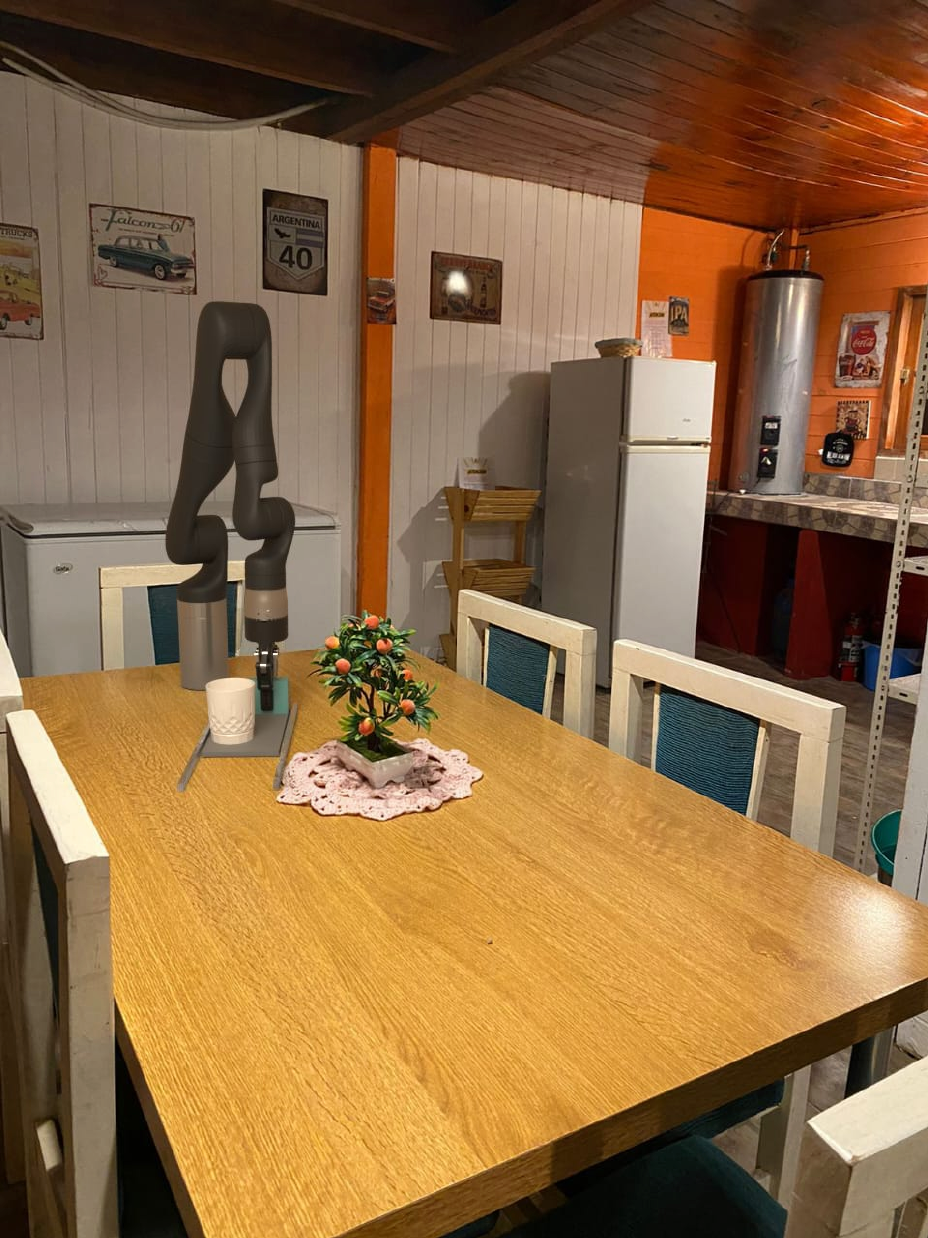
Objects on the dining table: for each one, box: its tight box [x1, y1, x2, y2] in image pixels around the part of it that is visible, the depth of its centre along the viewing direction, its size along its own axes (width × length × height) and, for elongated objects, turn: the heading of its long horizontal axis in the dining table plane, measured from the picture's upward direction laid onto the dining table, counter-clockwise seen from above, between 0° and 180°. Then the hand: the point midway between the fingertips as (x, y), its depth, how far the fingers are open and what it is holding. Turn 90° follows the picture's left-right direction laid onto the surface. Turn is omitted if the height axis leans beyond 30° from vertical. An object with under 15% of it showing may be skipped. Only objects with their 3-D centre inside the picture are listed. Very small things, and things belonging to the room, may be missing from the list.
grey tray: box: [201, 676, 291, 758], centre depth 165 cm, size 22×12×7 cm, turn 5°
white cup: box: [205, 677, 255, 745], centre depth 160 cm, size 8×8×10 cm
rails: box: [176, 701, 299, 793], centre depth 160 cm, size 38×14×1 cm, turn 5°
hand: (268, 706), depth 174 cm, fingers open, 2 cm apart
